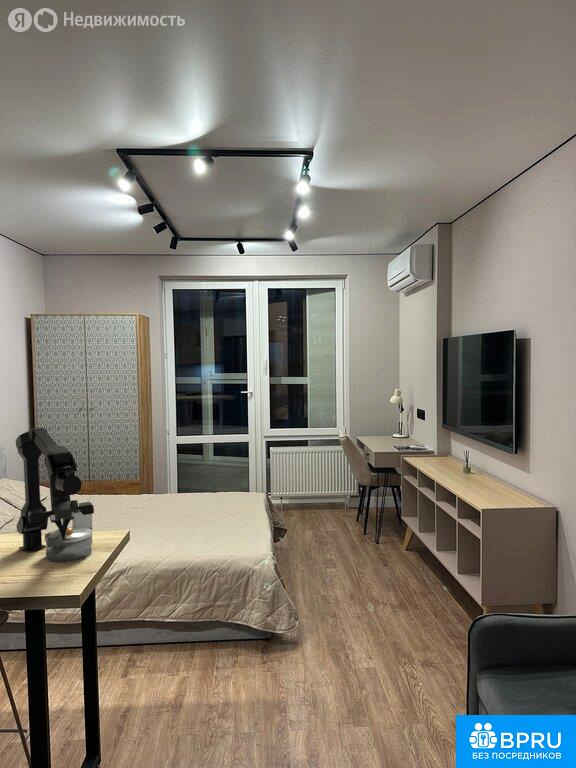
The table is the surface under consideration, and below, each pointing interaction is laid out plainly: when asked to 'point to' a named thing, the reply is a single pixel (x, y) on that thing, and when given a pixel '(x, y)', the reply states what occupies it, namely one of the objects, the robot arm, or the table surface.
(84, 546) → the pot
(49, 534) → the lid
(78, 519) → the skincare box
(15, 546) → the table surface
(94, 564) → the table surface
